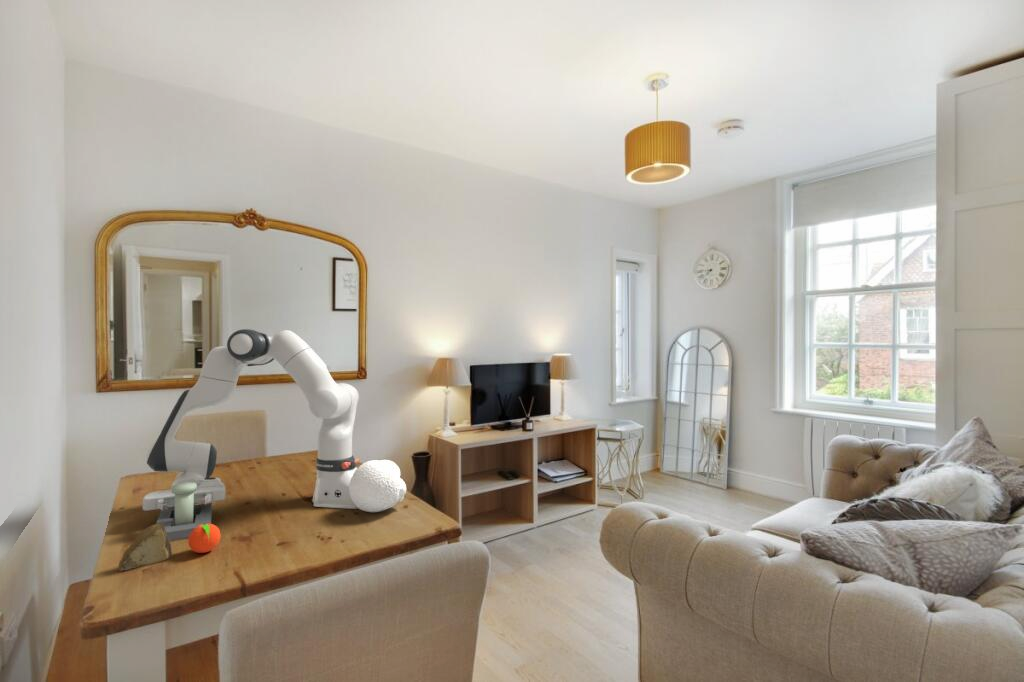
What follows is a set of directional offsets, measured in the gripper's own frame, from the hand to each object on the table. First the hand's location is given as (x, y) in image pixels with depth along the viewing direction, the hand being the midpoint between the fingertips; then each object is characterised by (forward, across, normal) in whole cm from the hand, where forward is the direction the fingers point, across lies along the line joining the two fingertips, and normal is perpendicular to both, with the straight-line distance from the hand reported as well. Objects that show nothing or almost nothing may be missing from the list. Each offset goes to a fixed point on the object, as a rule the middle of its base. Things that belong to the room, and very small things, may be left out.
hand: (184, 504), depth 135 cm
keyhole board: (-3, 0, +7) cm, 8 cm away
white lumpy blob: (+11, +51, +7) cm, 53 cm away
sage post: (+1, 0, +7) cm, 7 cm away
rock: (+20, -6, +7) cm, 23 cm away
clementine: (+21, +6, +7) cm, 23 cm away
